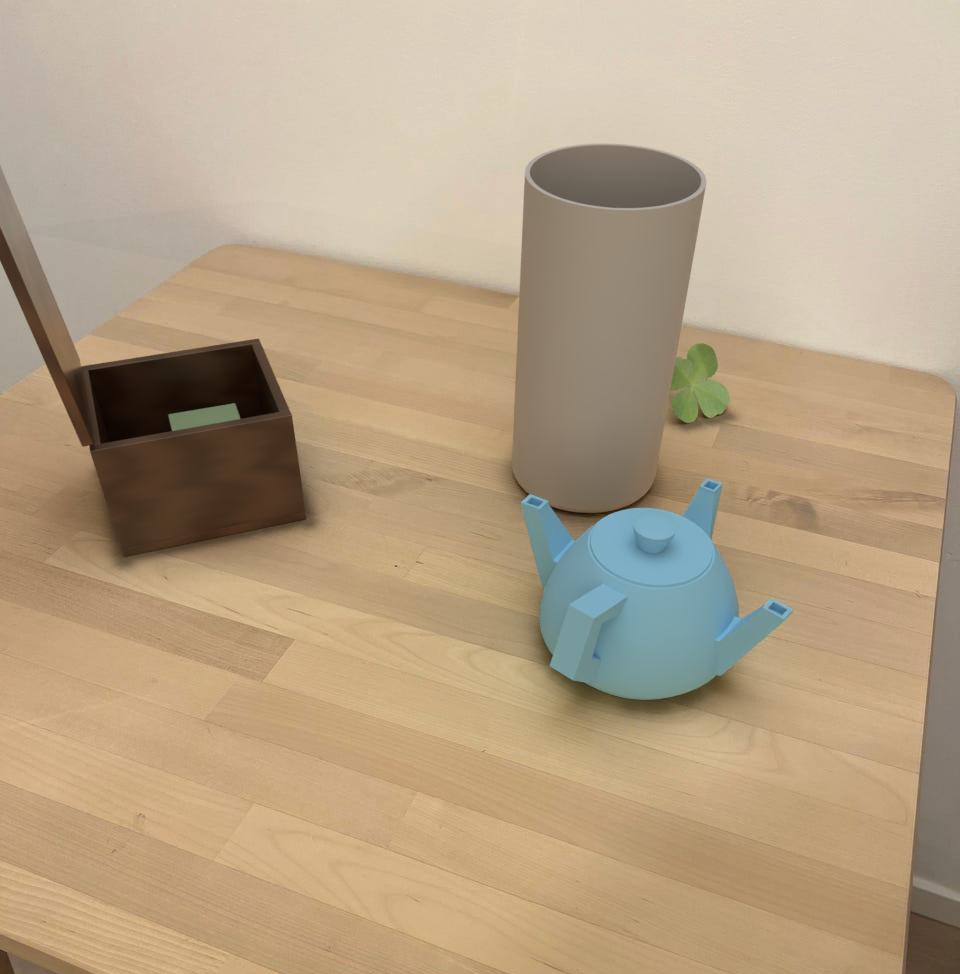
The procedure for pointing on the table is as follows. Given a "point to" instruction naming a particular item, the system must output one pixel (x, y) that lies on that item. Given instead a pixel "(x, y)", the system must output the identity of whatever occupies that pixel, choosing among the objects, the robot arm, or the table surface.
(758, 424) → the table surface
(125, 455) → the chest
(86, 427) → the lid
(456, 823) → the table surface
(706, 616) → the teapot
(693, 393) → the green clover leaf
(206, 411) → the block
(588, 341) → the cylinder vase
